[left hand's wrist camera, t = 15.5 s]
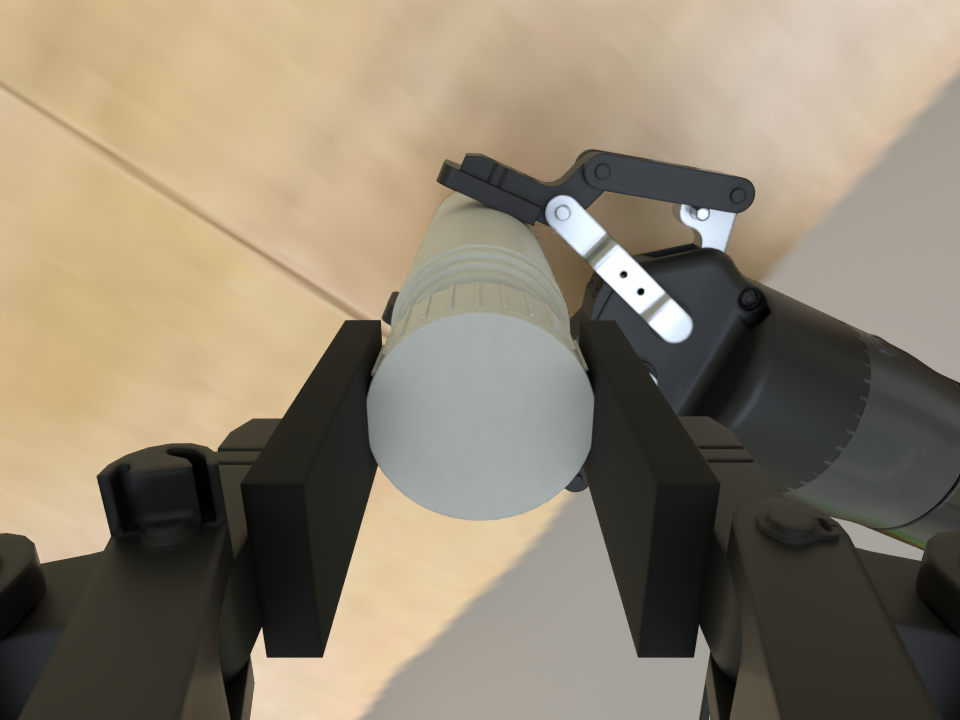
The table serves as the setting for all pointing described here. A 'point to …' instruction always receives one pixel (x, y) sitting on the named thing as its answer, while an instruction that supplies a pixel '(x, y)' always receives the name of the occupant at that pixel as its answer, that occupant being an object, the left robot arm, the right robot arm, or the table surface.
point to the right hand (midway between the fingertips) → (415, 239)
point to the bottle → (478, 257)
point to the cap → (480, 403)
